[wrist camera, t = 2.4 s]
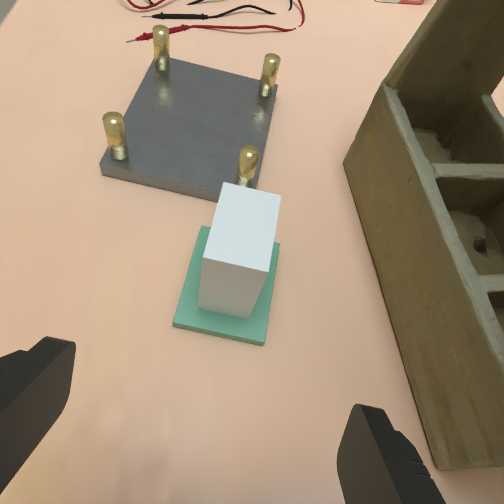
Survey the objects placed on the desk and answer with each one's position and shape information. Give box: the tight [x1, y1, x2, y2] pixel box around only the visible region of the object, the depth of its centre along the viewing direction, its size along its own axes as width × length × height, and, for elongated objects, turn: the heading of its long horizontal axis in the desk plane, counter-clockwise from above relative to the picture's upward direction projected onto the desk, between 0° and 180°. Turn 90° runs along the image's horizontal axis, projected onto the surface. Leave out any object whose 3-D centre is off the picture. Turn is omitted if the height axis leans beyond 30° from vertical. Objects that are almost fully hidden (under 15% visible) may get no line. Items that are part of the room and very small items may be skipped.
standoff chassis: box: [99, 25, 280, 202], centre depth 38 cm, size 14×17×6 cm
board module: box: [173, 182, 281, 346], centre depth 28 cm, size 7×9×9 cm
